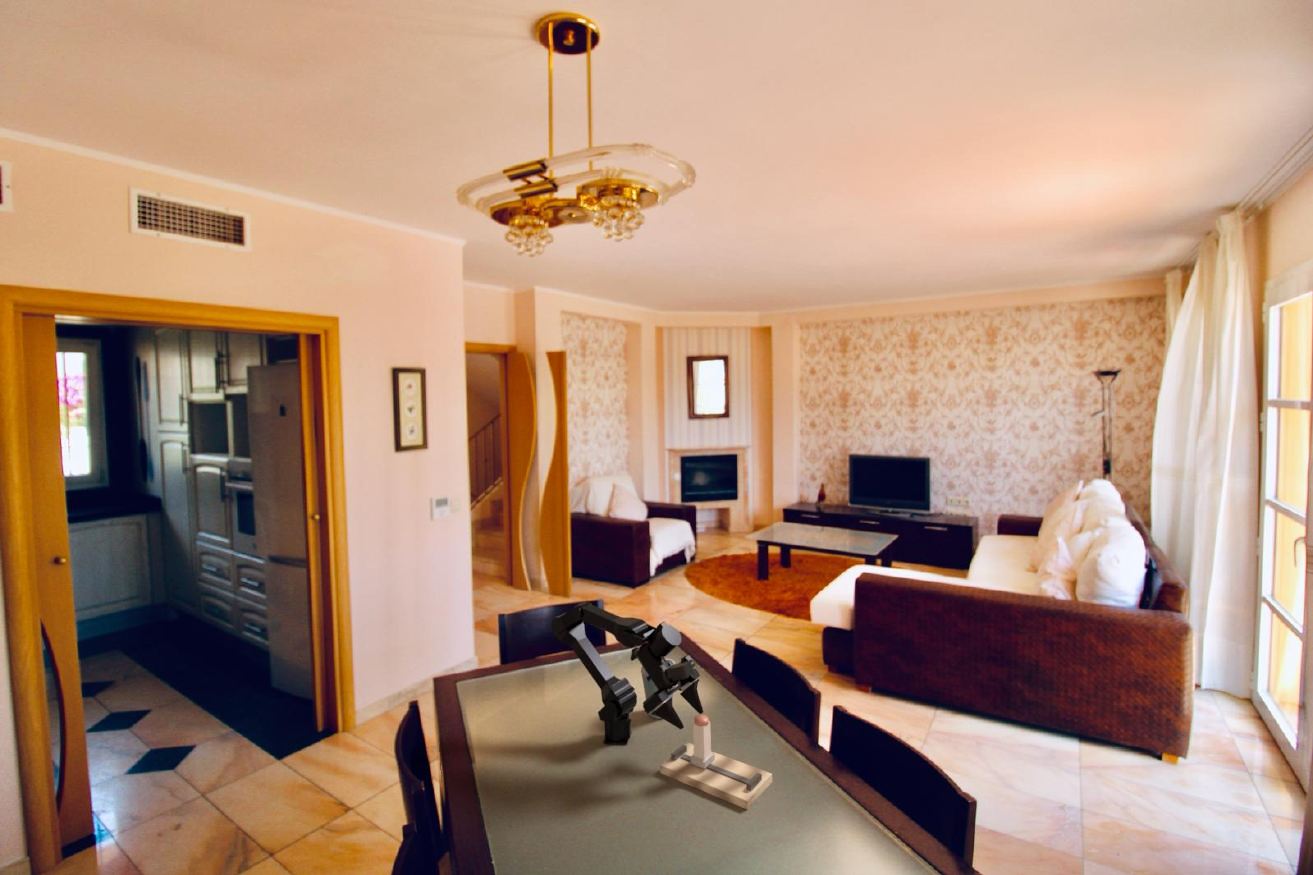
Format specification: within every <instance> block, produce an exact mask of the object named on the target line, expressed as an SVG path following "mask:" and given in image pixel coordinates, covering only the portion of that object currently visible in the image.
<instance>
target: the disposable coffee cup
mask: <svg viewBox="0 0 1313 875" xmlns="http://www.w3.org/2000/svg"><path fill="white" fill-rule="evenodd" d="M664 658H665V659H666V661H669V660H671V661H672V662H673V663H674V664H676V661H674V659H671V658H666V657H664ZM640 673H641V678H642V684H643V689H644V695H645V700H646V699H648V698H649V697H650V696H651V695H652V694H653V693H655V692H656V691H658V689H657V687H656V686H655V684H654V683H653V681H652V680H650V681H648V680H647V679H646V678H647V677H648V676H649V675H648V674H647V672H646V671H645V669H644V667H643V666H642V665H641V668H640ZM673 687H674V686H673ZM667 690H669V689H667ZM670 698H672V702H673V700H674V693H673V694H671V695H670V696H669V698H668V700H669V699H670ZM653 712H654V710H653V711H651V712H650V713H649V714H648V715H649V716H650V717H651V718H654V719H658V720H659V719H662V718H660V717H658V716H657V715H652V714H651V713H653ZM662 720H663V719H662Z"/></svg>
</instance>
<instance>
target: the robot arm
mask: <svg viewBox="0 0 1313 875" xmlns="http://www.w3.org/2000/svg"><path fill="white" fill-rule="evenodd" d="M584 622H585V623H586V624H589V625H592V626H594V627H596V628H598V629H601V630H602V631H604V632H607V633H609V634H611V635H612V636H613V637H614V638H615V640H616V641H617V642H618V643H619V644H621V645H622V646H624V647H626V648H628V649H631V655H630V661H634V660H636V659H638V661H639V662H640V664H641V667H642V666H643V667H644V669H645V671H646V672H647V674H648V675H649V676H648V677H647V678H646V679H647V680H648V681H650V680H652V681H653V683H654V684H655V686H656V687H657V689H658V691H656V692H655V693H653V694H652V695H651V696H650V697H649V698H648V699H646V698H645V700H644V701H643V702H642V708H643V710H644V711H645V713H646V714H647V715H649V713H650V712H651V711H653V710H654V712H653V713H651V714H652V715H657V716H658V717H660V718H662V720H664V721H666V722H668V723H669V724H671V725H673V726H674V727H675V728H677V729H679V730H682V729H684V728H685V726H684V724H683V721H682V720H681V718H680V716H679V715H678V713H677V711H676V710H675V708H674V706H673V701H672V698H670V699H669V700H668V698H669V696H670V695H671V694H673V695H674V694H675V692H676V693H677V691H679V692H680V693H679V695H680V696H681V697H682V698H683V699H684V700H685V701H686V702H687V703H688V704H689V705H690V706H691V708H693V709H694V710H695V711H696V712H697V713H698V714H699V715H703V713H704V709H703V708H704V707H703V706H702V702H701V699H700V696H699V691H698V684H699V682H700V678H699V677H701V674H700V672H699V671H698V670H697V668H695V666H696V662H695V661H694V660H693V658H692V657H691V656H690V655H689V654H687V655H685V656H683V657H681V658H680V662H678V663H675V664H674V663H673V662H672V661H671V660H669V661H666V659H667V658H666V657H667V656H668V655H670V653H672V651H674V650H675V649H676V648H678V646H680V644H681V643H682V635H681V633H680V631H679V630H678V629H677V628H676V627H675V626H672V625H671V624H667V622H666V621H662V622H661V623H659V624H658V625H657V626H656V627H655V626H653V625H650V624H649V623H647V622H646V621H645V620H644V619H641V618H637V617H636V618H635V617H623V616H619V615H617V614H614V613H613V612H610V611H607V610H605V609H603V608H600V607H598V606H596V605H593V604H592V603H591V602H589V601H583V602H582V603H579V604H577V605H575V606H574V607H573V608H571V609H570V610H569V611H567V612H564V613H562V614H560V615H557V616H555V617H553V618H552V620H551V625H550V629H551V633H552V635H553V636H555V637H556V638H557V640H558V641H559V642H560V643H562V644H565V645H566V646H568V647H570V648H571V650H572V651H573V652H574V653H575V654H576V657H578V659H579V661H580V662H581V663H582V664H583V666H584V667H585V669H586V670H587V672H588V673H589V675H590V676H591V677H592V679H593V681H594V682H595V683H596V685H597V687H598V688H599V689H600V692H601V702H602V704H603V706H602V708H601V709H599V710H598V712H597V714H598V718H599V721H601V722H603V723H604V724H603V725H604V726H603V727H604V739H603V741H602V743H603V744H607V745H628V743H629V740H631V736H632V733H633V732H632V719H631V718H630V713H633V711H634V708H635V707H636V706H637V703H638V702H637V701H638V699H637V698H638V695H637V693H636V691H635V690H636V689H635V688H634V687H633V686H632V685H631V683H630V682H629V679H628V678H626V677H623V678H622V679H620V678H618V677H616V676H615V674H614V673H613V671H612V670H611V669H610V667H609V666H608V665H607V663H606V662H605V661H604V659H603V658H602V657H601V655H600V653H599V651H597V649H596V648H595V646H594V645H593V644H592V642H591V641H590V640H589V639H588V637H587V635H586V630H585V629H586V628H585V624H584ZM635 646H636V647H635ZM637 646H638V647H637ZM665 658H666V659H665ZM673 686H674V687H673ZM667 689H669V690H667Z"/></svg>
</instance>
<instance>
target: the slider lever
mask: <svg viewBox="0 0 1313 875" xmlns="http://www.w3.org/2000/svg"><path fill="white" fill-rule="evenodd" d="M692 733H693V734H692V735H693V745H694V755H693V756H691V764H694V765H696V766H699V767H701V768H704V769H705V768H706V767H708V766H709V765H710V764H711V763H712V762H713V761H714V760H715V756H714V753H711V751H712V743H711V742H712V740H711V739H712V738H711V735H712V734H711V721H710V720H709V717H708V715H705V714H699V715H698V714H697V715H696V716H695V717H694V722H693V723H692Z"/></svg>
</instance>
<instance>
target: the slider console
mask: <svg viewBox="0 0 1313 875" xmlns="http://www.w3.org/2000/svg"><path fill="white" fill-rule="evenodd" d="M711 753H714V756H715V760H714V761H713V762H712V763H711V764H710V765H709V766H708V767H706V768H705V769H704V768H701V767H699V766H696V765H694V764H691V756H693V755H694V743H690V742H686V743H685V744H681V745H680V746H679V747H678V748H676V749H675V750H674V751H673V752H671V754H670V756H669V757H668V758H667V759H666V760H664V761H663V762H662V763H661V764H659V773H660V774H661V775H664V776H666V777H669V778H671V779H674V780H676V781H679V782H681V783H683V784H685V785H688V786H691V787H693V788H695V789H697V790H700V791H702V792H704V793H707V794H709V795H712V796H713V797H717V798H719V799H721V800H723V801H725V802H728V803H730V804H732V805H736V806H737V807H740V808H743V809H744V810H749V809H750V807H752V805H753V804H754V803H755V802H756V801H757V800H758V798H760V797H761V795H762V794H763V793H764V792H765V791H766V790H767V788H769V786H770V785H771V784H772V783H773V773H770V772H769V771H766V770H763V769H760V768H758V767H755V766H754V765H753V766H752V765H749V764H747V763H744V762H742V761H738V760H737V759H733V758H731V757H729V756H725V755H722V754H720V753H717V752H715V751H712V750H711Z"/></svg>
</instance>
